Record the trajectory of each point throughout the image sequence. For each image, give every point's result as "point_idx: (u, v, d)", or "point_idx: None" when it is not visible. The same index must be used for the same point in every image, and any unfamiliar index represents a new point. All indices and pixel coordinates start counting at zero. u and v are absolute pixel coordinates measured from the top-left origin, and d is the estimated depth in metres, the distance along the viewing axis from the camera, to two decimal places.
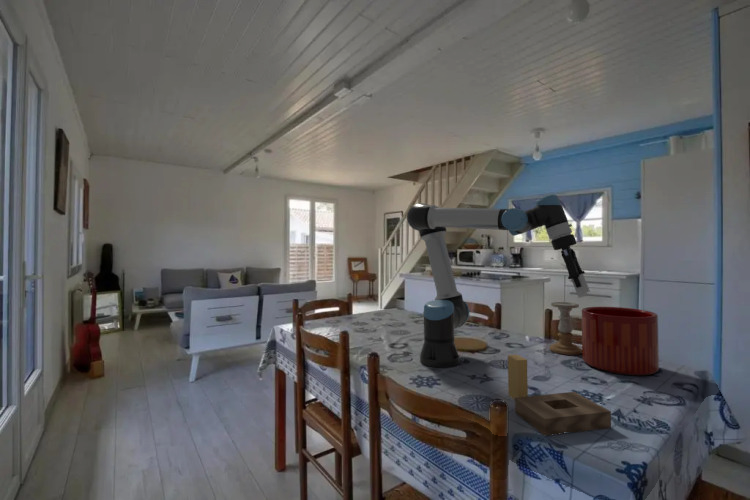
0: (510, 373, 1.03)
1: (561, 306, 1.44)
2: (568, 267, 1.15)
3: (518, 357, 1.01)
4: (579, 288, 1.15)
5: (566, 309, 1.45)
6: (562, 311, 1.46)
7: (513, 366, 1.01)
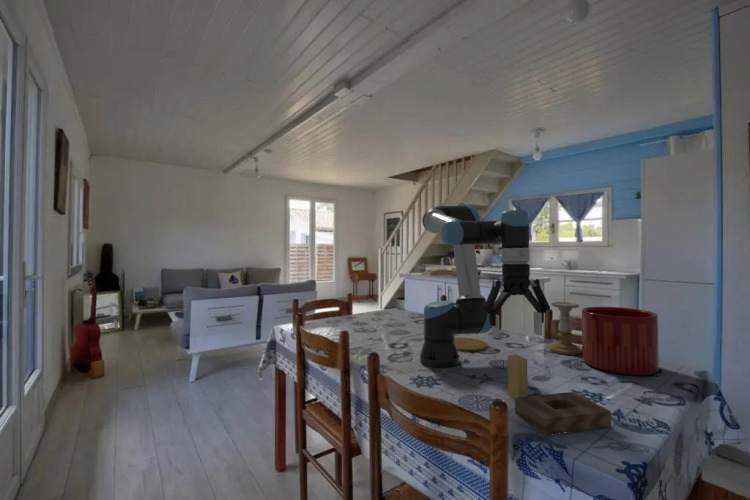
0: (510, 373, 1.03)
1: (561, 306, 1.44)
2: (487, 300, 1.01)
3: (518, 357, 1.01)
4: (494, 327, 1.00)
5: (566, 309, 1.45)
6: (562, 311, 1.46)
7: (513, 366, 1.01)
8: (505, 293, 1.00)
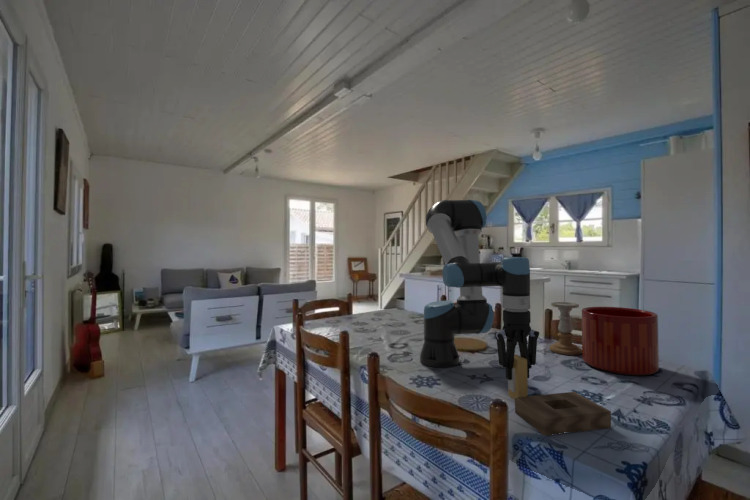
0: None
1: (561, 306, 1.44)
2: (499, 354, 1.01)
3: (518, 357, 1.01)
4: (510, 380, 1.01)
5: (566, 309, 1.45)
6: (562, 311, 1.46)
7: (513, 366, 1.01)
8: (511, 344, 1.00)
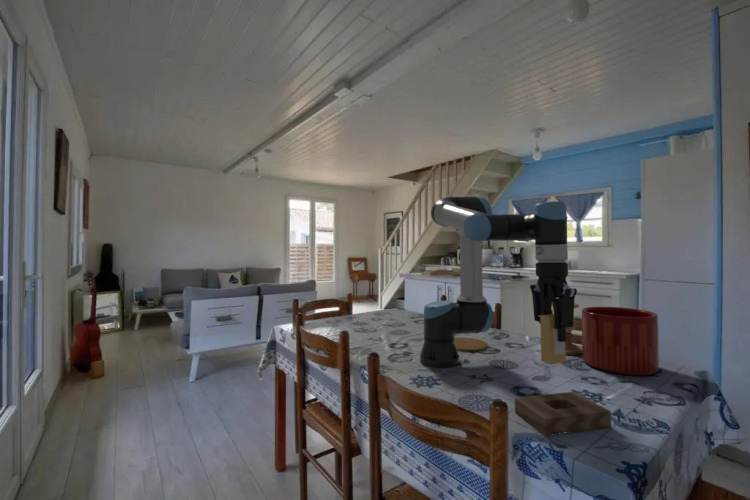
0: None
1: None
2: None
3: (552, 315, 0.90)
4: None
5: None
6: None
7: None
8: None
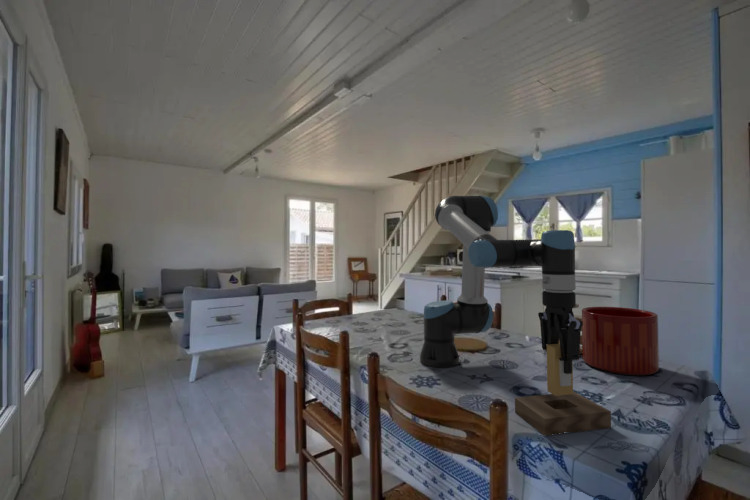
0: None
1: None
2: None
3: (558, 345, 0.88)
4: None
5: None
6: None
7: None
8: None
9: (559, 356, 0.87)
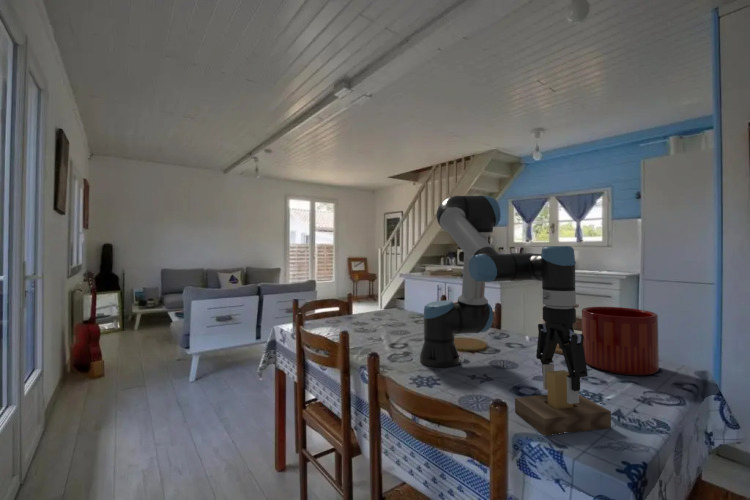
0: None
1: None
2: None
3: (559, 373, 0.88)
4: None
5: None
6: None
7: None
8: None
9: (559, 384, 0.87)
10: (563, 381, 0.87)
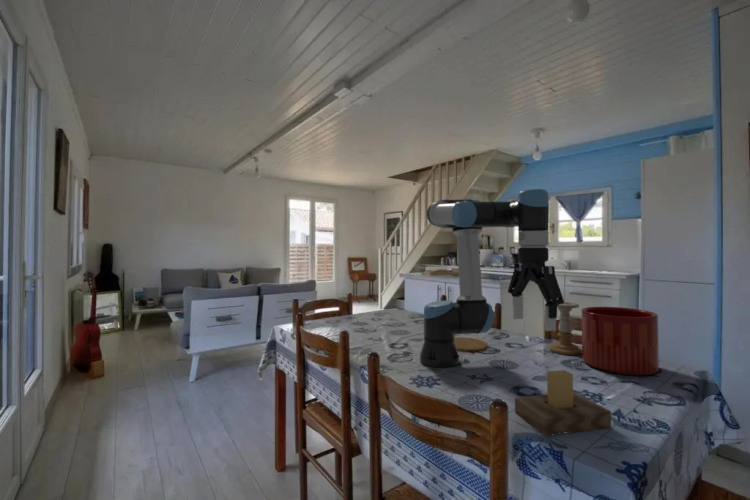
0: None
1: (561, 306, 1.44)
2: None
3: (559, 373, 0.88)
4: None
5: (566, 309, 1.45)
6: (562, 311, 1.46)
7: None
8: None
9: (559, 384, 0.87)
10: (563, 381, 0.87)
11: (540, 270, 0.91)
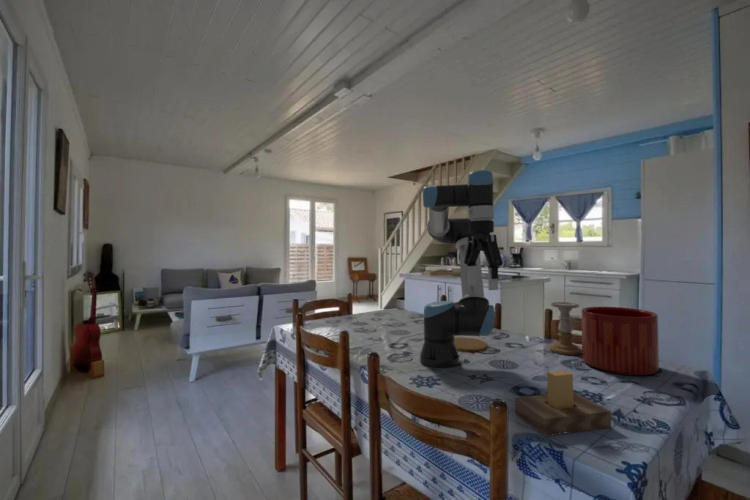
0: None
1: (561, 306, 1.44)
2: None
3: (559, 373, 0.88)
4: None
5: (566, 309, 1.45)
6: (562, 311, 1.46)
7: None
8: None
9: (559, 384, 0.87)
10: (563, 381, 0.87)
11: (485, 239, 1.05)
